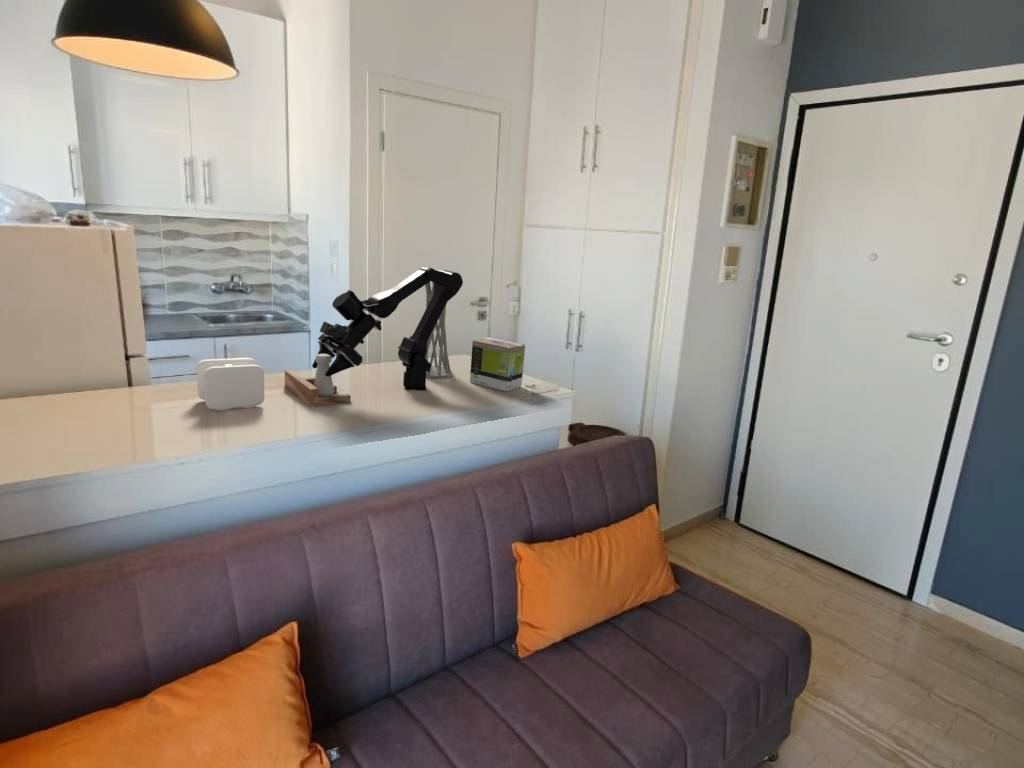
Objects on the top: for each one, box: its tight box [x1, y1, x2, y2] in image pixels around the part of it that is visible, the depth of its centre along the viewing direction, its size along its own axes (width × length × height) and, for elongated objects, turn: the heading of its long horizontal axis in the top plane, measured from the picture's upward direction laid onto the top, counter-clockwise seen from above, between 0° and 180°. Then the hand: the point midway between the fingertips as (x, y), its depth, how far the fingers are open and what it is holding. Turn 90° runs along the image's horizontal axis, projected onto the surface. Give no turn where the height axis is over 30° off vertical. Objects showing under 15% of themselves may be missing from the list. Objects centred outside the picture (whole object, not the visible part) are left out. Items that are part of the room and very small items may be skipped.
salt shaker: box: [314, 353, 335, 397], centre depth 174 cm, size 6×6×13 cm
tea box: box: [469, 336, 526, 392], centre depth 204 cm, size 15×10×15 cm, turn 58°
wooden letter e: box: [284, 369, 351, 408], centre depth 179 cm, size 12×20×5 cm, turn 39°
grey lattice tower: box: [424, 269, 453, 380], centre depth 208 cm, size 14×13×35 cm
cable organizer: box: [196, 357, 265, 411], centre depth 164 cm, size 15×11×12 cm
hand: (319, 371), depth 173 cm, fingers open, 9 cm apart
